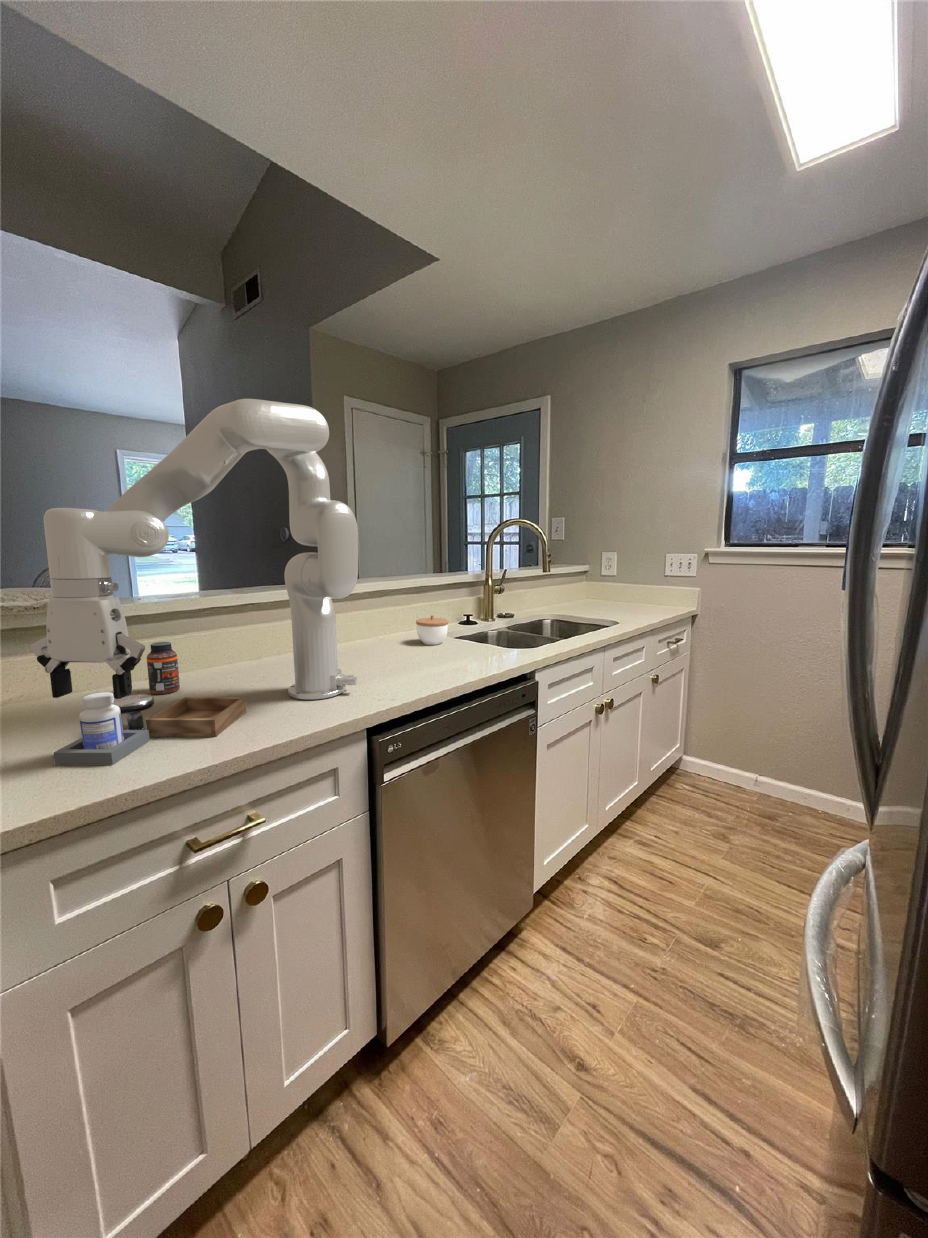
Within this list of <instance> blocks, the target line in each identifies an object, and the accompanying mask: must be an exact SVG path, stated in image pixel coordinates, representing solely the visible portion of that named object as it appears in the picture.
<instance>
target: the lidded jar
mask: <svg viewBox="0 0 928 1238" xmlns="http://www.w3.org/2000/svg"><path fill="white" fill-rule="evenodd" d="M415 624H416V633H417V637H418V638H419V640H420V641H421V642H422V643H423V644H424V645H426V646H437V645H441V644H442V643H443V641H445V640H446V637H447V636H448V630H449V620H448V619H447V618H444V617H443V618H442V617H434V615H432V614H431V615H430V617H424V618H423V617H422V618H418V619H416V622H415Z"/></svg>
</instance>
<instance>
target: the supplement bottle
mask: <svg viewBox="0 0 928 1238" xmlns="http://www.w3.org/2000/svg"><path fill="white" fill-rule="evenodd" d="M146 666H147V667H146V668H147V675H148V676H147V677H148V686H149V693H151V694H153V695H167V694H172V693H175V692H177V691H179V690H180V688H181V687H180V686H181V685H180V676H179V675H180V674H179V662H178V654H177V652H176V651H175V650H173V647H172V642H170V641H158V642H157V641H156V642H153V643H150V652H149V653H148V654H146Z"/></svg>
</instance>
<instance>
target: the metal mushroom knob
mask: <svg viewBox="0 0 928 1238" xmlns="http://www.w3.org/2000/svg"><path fill="white" fill-rule="evenodd" d="M154 698H155V697H154V696H153V695H151V694H146V693H144V694H143V693H142V694H130V695H128V696H125V697H123V698H121V699H114V702H113V705H117V706H118V707H119V708H120V712H121V715H125V714H126V719H127V730H144V728H145V723H144V716H143V715H144V714H143V713H144V712H143V711H146V710H149V709H151V708H152V707H154V705H155V699H154Z"/></svg>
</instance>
